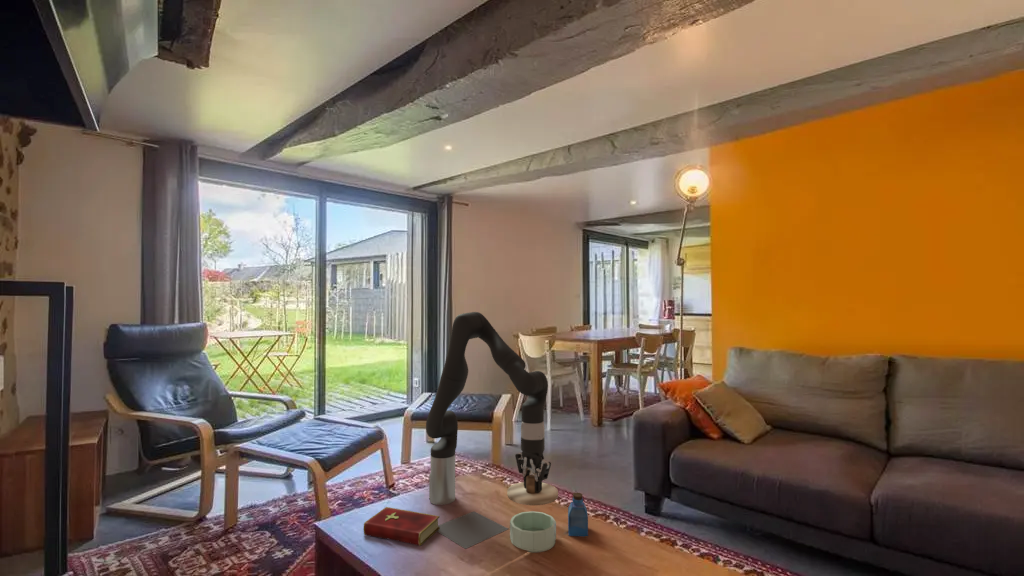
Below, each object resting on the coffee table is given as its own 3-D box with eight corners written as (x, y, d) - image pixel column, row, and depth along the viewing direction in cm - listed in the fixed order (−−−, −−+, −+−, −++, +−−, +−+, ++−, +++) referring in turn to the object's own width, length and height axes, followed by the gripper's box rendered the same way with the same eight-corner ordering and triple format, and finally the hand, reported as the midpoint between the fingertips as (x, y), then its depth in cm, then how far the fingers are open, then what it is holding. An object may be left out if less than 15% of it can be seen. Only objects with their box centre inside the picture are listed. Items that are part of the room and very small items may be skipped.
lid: (496, 494, 150) (496, 476, 151) (531, 480, 162) (531, 464, 162) (533, 510, 139) (533, 491, 139) (568, 494, 150) (568, 477, 150)
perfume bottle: (586, 527, 159) (586, 491, 159) (588, 536, 153) (587, 498, 153) (568, 526, 159) (568, 490, 160) (568, 535, 153) (568, 498, 154)
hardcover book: (419, 546, 146) (419, 533, 146) (363, 535, 153) (363, 522, 153) (439, 528, 157) (439, 515, 157) (386, 518, 165) (386, 506, 165)
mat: (431, 529, 157) (431, 528, 157) (473, 512, 170) (473, 511, 170) (465, 550, 144) (465, 548, 144) (508, 530, 157) (508, 528, 157)
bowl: (501, 540, 150) (501, 521, 150) (532, 525, 160) (532, 507, 160) (533, 557, 140) (533, 537, 140) (564, 541, 150) (564, 521, 150)
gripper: (508, 433, 153) (508, 487, 153) (541, 442, 143) (541, 500, 143) (524, 428, 158) (525, 480, 158) (557, 437, 148) (557, 493, 148)
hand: (532, 489), depth 150 cm, fingers closed on lid, 4 cm apart
